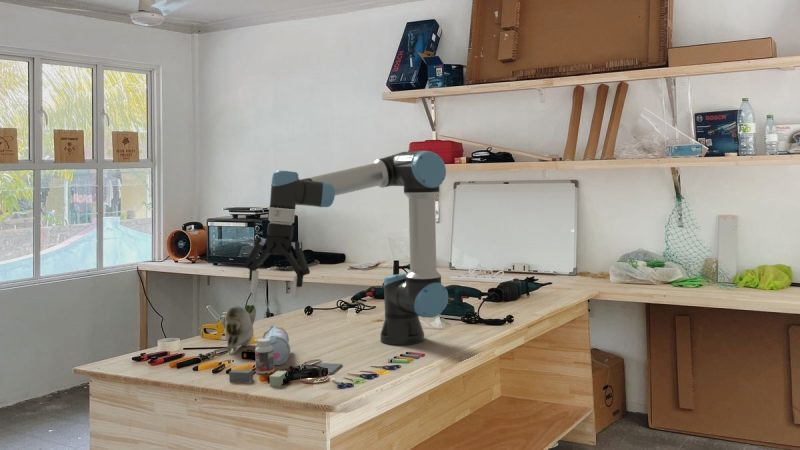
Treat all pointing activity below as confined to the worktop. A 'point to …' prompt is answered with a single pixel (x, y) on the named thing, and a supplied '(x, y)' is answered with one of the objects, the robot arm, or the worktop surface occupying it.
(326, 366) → the slate mat
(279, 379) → the sage brick
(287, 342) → the pencil case
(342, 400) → the worktop surface
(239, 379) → the charcoal brick
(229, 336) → the toy
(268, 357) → the pill bottle
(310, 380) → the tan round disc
